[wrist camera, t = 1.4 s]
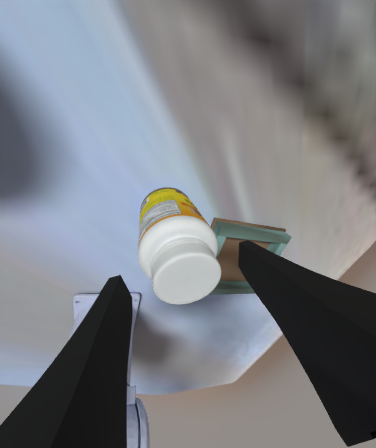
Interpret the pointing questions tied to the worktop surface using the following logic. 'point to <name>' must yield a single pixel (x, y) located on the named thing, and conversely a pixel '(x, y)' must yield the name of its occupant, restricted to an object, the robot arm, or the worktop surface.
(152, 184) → the worktop surface
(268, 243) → the teal picture frame
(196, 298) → the supplement bottle
